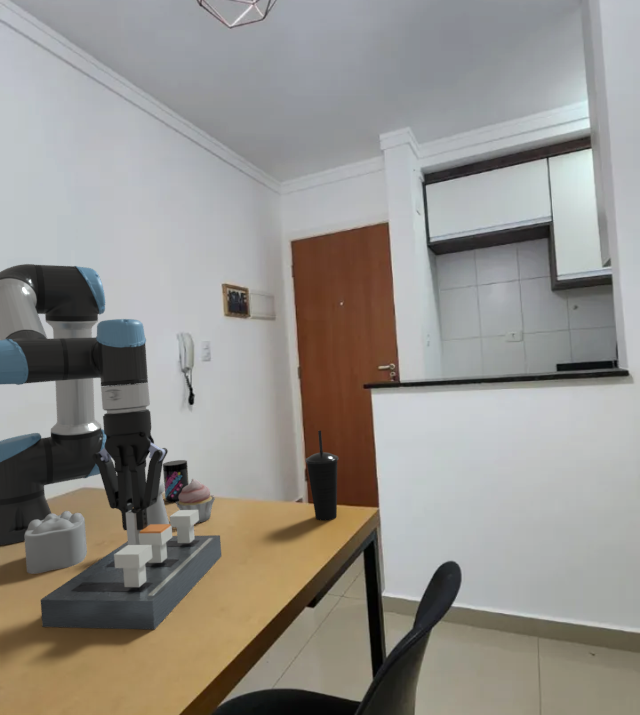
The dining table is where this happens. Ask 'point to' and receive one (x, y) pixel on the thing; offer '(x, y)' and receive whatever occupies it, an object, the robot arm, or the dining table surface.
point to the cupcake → (196, 499)
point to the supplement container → (175, 479)
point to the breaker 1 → (133, 563)
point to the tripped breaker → (156, 540)
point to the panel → (130, 589)
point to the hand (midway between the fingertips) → (136, 548)
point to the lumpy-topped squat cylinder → (55, 542)
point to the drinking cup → (323, 483)
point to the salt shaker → (158, 510)
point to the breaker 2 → (184, 524)
